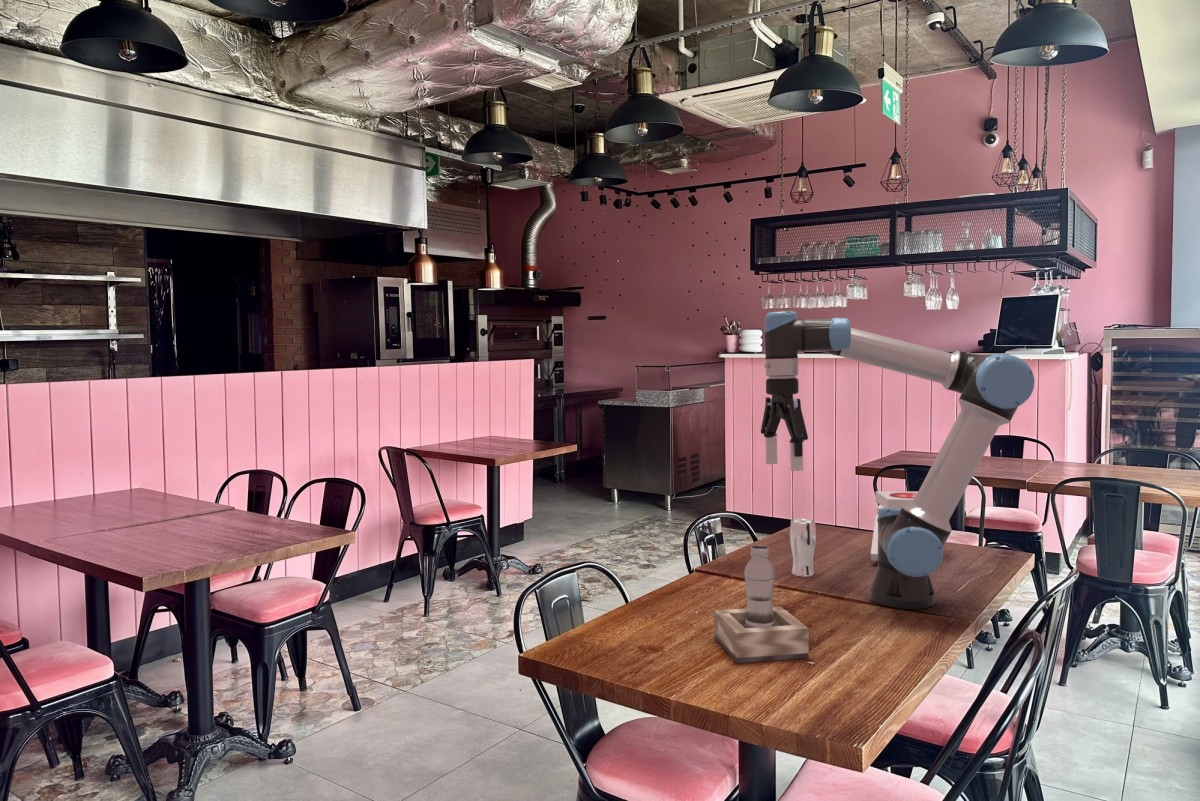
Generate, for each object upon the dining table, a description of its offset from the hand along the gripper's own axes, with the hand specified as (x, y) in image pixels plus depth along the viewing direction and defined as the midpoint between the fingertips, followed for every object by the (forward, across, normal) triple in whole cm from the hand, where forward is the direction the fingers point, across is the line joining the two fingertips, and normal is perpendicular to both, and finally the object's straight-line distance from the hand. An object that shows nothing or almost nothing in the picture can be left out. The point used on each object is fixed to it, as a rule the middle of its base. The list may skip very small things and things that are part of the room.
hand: (783, 467), depth 195 cm
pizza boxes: (+35, -39, +56) cm, 77 cm away
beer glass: (+35, -29, +19) cm, 49 cm away
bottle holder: (+34, +22, -16) cm, 44 cm away
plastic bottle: (+33, +21, -16) cm, 43 cm away
